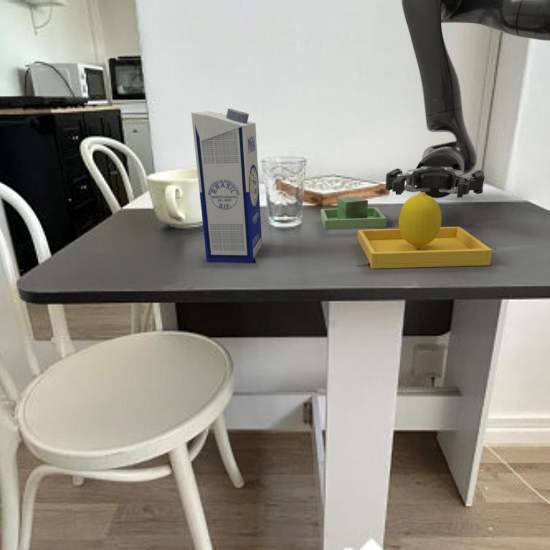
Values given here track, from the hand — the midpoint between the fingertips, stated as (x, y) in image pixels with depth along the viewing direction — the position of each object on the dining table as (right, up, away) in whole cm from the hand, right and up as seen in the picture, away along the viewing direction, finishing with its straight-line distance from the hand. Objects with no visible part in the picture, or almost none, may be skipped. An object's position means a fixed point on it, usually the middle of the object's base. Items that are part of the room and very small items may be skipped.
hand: (428, 189), depth 63 cm
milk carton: (-28, -10, +1) cm, 30 cm away
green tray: (-9, -4, +14) cm, 17 cm away
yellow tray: (-2, -9, -1) cm, 10 cm away
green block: (-9, -3, +13) cm, 16 cm away
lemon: (-2, -9, -1) cm, 9 cm away
